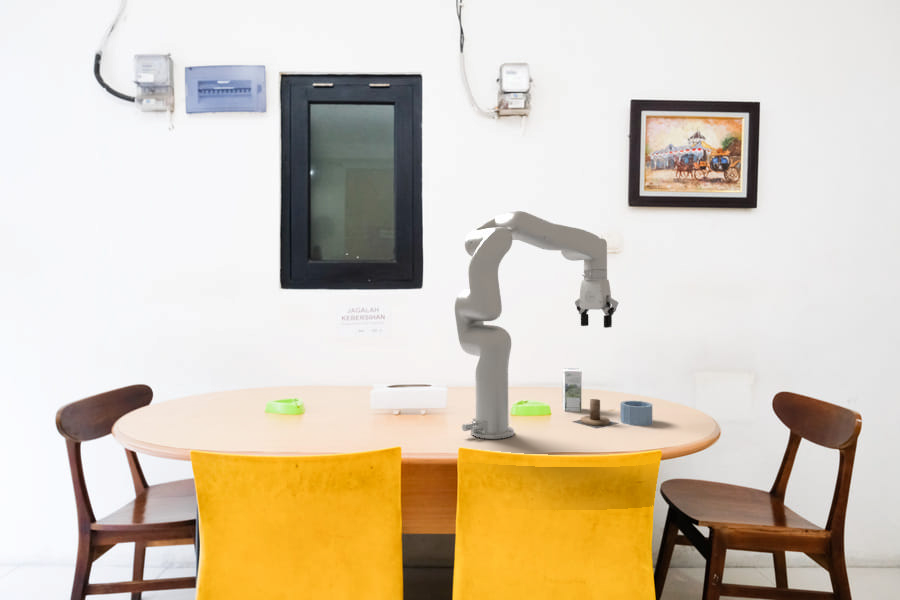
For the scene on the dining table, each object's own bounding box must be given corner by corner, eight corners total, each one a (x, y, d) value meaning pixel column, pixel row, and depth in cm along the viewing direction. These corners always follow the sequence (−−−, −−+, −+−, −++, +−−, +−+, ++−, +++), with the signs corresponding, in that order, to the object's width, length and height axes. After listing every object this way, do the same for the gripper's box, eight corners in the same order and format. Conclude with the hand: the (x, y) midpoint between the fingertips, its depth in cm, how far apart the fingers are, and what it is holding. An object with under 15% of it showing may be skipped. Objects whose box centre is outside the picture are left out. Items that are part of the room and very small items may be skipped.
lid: (596, 427, 159) (596, 404, 159) (575, 421, 166) (574, 399, 166) (615, 423, 164) (615, 400, 164) (593, 417, 171) (593, 396, 171)
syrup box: (579, 409, 185) (579, 367, 184) (581, 413, 179) (581, 370, 179) (562, 408, 185) (562, 367, 185) (564, 412, 179) (564, 370, 179)
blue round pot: (639, 428, 159) (639, 408, 159) (614, 422, 167) (614, 403, 166) (658, 423, 164) (658, 404, 164) (633, 417, 172) (633, 399, 172)
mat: (597, 429, 158) (597, 428, 158) (571, 422, 166) (571, 421, 166) (618, 424, 164) (618, 423, 164) (593, 418, 172) (593, 416, 172)
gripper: (568, 276, 182) (568, 325, 183) (609, 275, 168) (609, 328, 169) (582, 276, 187) (583, 324, 187) (624, 274, 172) (624, 327, 173)
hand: (595, 326), depth 178 cm, fingers open, 9 cm apart
